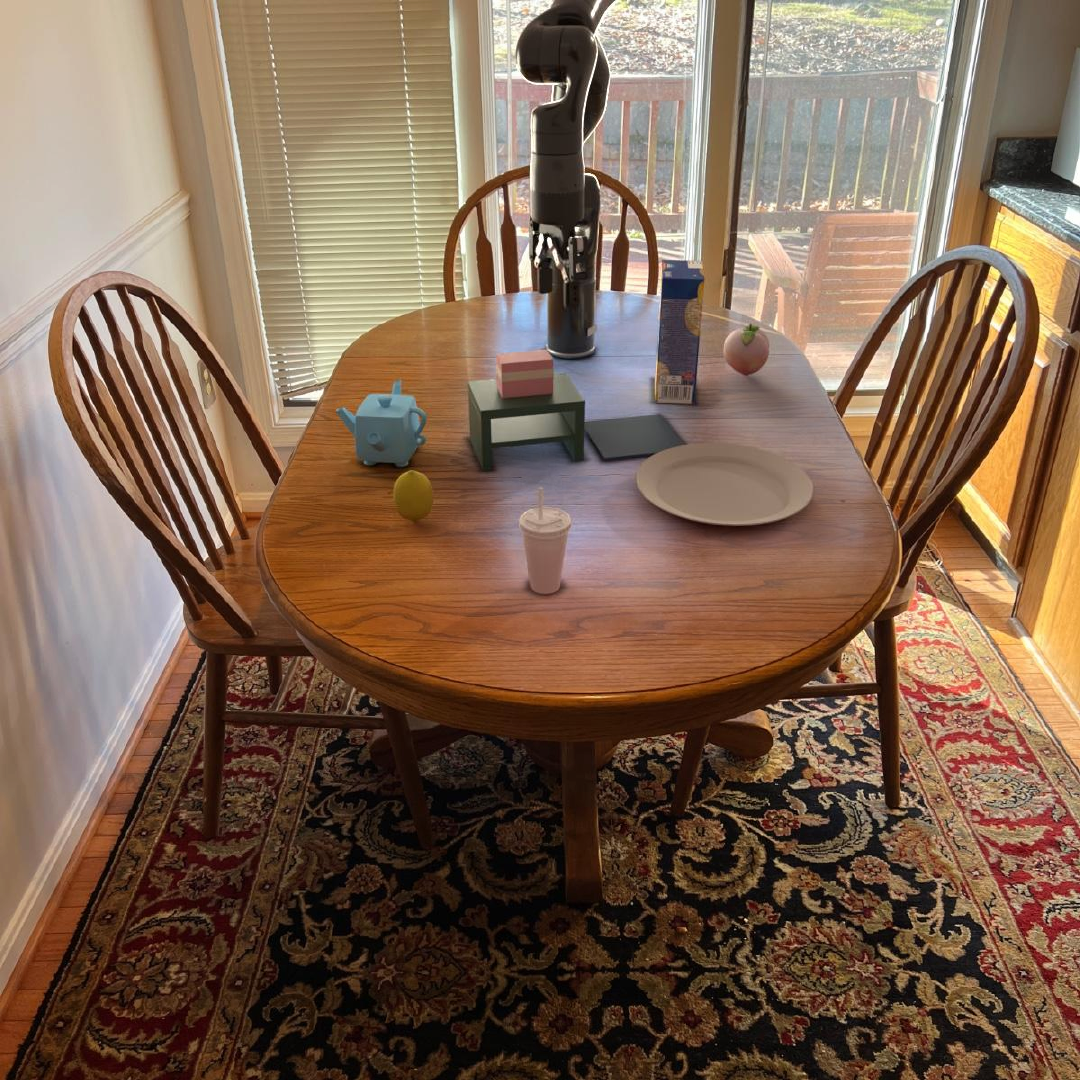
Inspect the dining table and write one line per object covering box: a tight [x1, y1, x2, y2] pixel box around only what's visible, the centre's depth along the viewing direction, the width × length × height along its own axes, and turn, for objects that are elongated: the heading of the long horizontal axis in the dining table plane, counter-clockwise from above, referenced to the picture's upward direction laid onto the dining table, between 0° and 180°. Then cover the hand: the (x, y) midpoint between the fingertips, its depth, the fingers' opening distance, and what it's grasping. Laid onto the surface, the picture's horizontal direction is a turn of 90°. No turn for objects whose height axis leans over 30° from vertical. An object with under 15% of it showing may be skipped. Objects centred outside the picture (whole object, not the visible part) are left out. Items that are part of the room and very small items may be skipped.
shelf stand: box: [467, 371, 586, 472], centre depth 159 cm, size 12×16×10 cm
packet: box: [495, 348, 555, 398], centre depth 155 cm, size 4×8×6 cm, turn 103°
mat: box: [584, 413, 686, 462], centre depth 165 cm, size 14×14×1 cm
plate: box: [635, 442, 814, 527], centre depth 148 cm, size 26×26×2 cm
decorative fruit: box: [722, 323, 770, 377], centre depth 185 cm, size 9×8×10 cm
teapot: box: [335, 379, 427, 468], centre depth 157 cm, size 18×14×10 cm
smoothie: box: [518, 486, 572, 595], centre depth 124 cm, size 6×6×14 cm
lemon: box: [392, 469, 435, 523], centre depth 139 cm, size 6×6×8 cm
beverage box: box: [654, 259, 706, 405], centre depth 176 cm, size 7×11×22 cm, turn 175°
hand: (558, 300), depth 149 cm, fingers open, 8 cm apart
